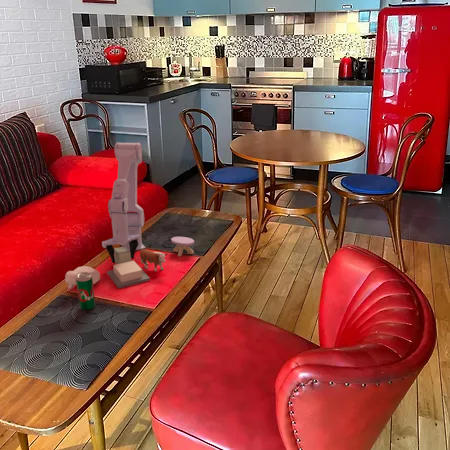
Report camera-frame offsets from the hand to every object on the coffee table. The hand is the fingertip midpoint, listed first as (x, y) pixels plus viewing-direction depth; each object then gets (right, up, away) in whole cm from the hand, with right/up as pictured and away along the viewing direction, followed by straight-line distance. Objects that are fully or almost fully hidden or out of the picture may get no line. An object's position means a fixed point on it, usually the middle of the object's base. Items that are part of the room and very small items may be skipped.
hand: (122, 260), depth 196 cm
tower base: (+4, -6, -10) cm, 12 cm away
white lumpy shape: (-11, -9, -17) cm, 22 cm away
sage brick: (0, -2, +1) cm, 2 cm away
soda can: (-6, -14, -29) cm, 33 cm away
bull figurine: (+13, -3, -3) cm, 14 cm away
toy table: (+23, +2, +11) cm, 25 cm away
